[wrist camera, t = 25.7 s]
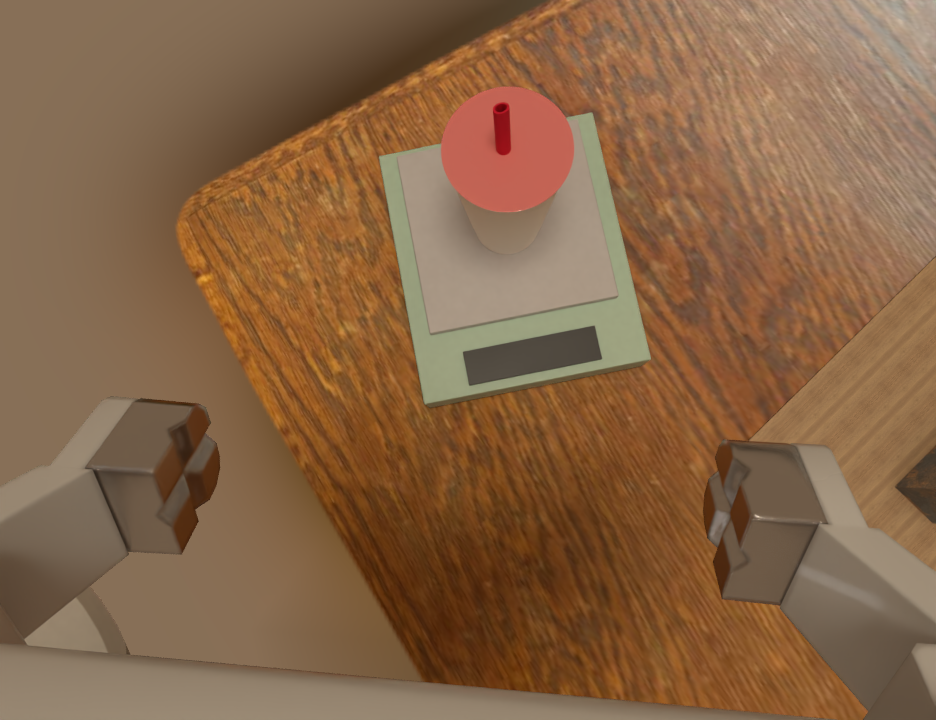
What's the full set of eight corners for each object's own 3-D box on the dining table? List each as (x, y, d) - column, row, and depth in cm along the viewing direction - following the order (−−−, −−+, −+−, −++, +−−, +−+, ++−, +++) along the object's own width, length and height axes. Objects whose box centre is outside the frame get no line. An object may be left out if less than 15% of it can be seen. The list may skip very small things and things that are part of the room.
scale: (429, 408, 39) (422, 403, 36) (385, 173, 41) (376, 151, 38) (642, 365, 39) (654, 357, 36) (587, 132, 41) (593, 106, 38)
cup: (446, 187, 38) (420, 59, 26) (544, 165, 37) (563, 27, 26) (467, 282, 37) (449, 195, 25) (567, 260, 37) (598, 162, 25)
